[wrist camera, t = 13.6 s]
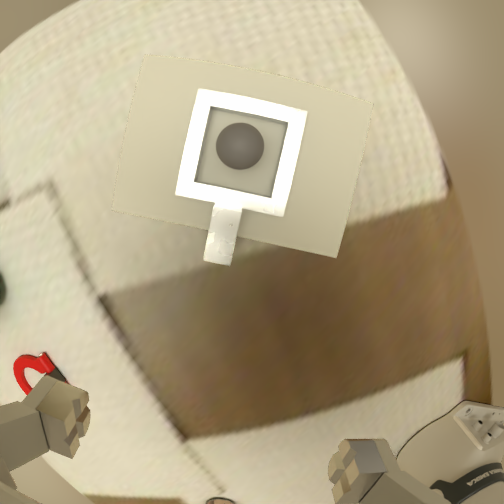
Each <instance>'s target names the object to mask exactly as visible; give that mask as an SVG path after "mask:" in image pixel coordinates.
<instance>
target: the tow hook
mask: <svg viewBox="0 0 504 504" xmlns="http://www.w3.org/2000/svg"><path fill="white" fill-rule="evenodd" d="M26 367H29V368H33V369H35V370H37V371H38V372H40V373H42V374H43V373H45V372H46V374H45V375H44V376H46V375H48V376H50V377H52V378H55V379H57V380H59V381H62V382H65V379H64V378H63V376H62V375H61V374H60V372H59V371H58V370H57V368H56V367H54V365H53V364H52V363H51V361H50V360H49V358H48V357H47V356H46V354H45V353H42V354H40V355H39V356H38V357H37V358H35V357H33V356H29V355H22V356H20V357H19V358H17V359H16V361H15V362H14V367H13V370H14V375H15V378H16V380H17V382H18V384H19V386H20V387H21V389H22V390H23V391H24V392H25V394H26V395H28V394H29V393H30V392H31V390H32V388H31V387H30V385H29V384H28V382H27V381H26V379H25V376H24V368H26ZM65 383H66V382H65Z"/></svg>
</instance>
